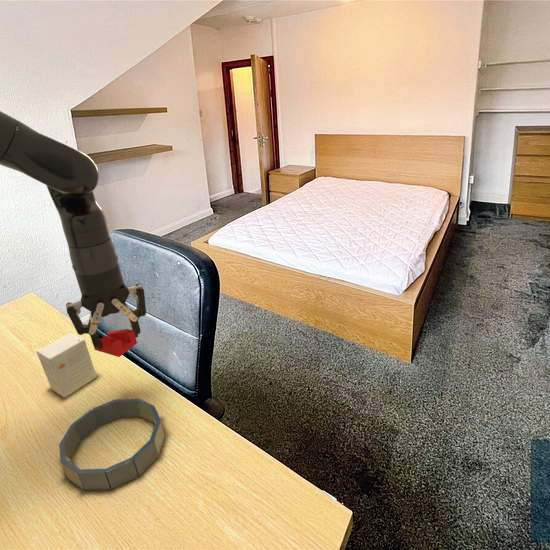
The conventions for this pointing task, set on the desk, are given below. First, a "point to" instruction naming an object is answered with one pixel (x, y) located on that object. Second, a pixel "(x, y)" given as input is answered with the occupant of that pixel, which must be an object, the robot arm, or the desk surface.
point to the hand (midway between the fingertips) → (118, 341)
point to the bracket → (117, 342)
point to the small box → (67, 364)
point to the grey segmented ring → (119, 471)
